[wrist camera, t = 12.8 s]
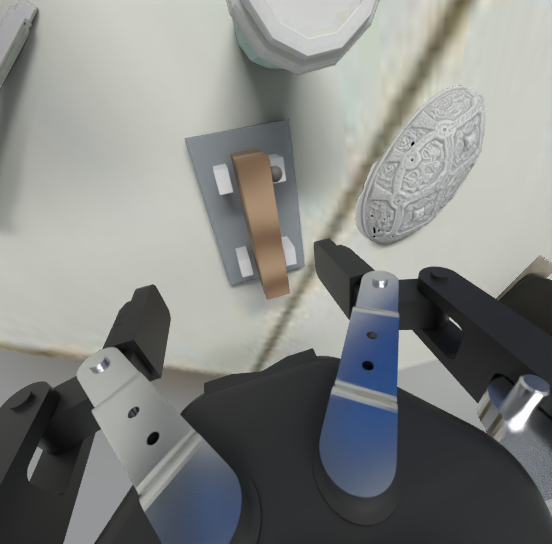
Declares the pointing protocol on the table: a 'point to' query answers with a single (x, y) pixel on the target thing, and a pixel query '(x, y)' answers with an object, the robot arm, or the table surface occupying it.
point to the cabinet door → (262, 218)
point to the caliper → (14, 34)
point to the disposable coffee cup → (299, 30)
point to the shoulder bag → (532, 295)
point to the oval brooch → (422, 166)
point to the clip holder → (226, 200)
